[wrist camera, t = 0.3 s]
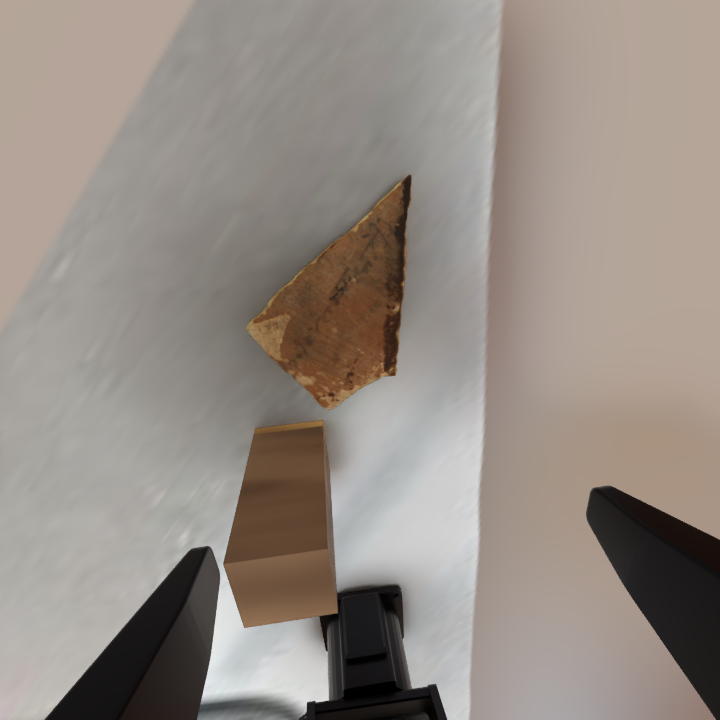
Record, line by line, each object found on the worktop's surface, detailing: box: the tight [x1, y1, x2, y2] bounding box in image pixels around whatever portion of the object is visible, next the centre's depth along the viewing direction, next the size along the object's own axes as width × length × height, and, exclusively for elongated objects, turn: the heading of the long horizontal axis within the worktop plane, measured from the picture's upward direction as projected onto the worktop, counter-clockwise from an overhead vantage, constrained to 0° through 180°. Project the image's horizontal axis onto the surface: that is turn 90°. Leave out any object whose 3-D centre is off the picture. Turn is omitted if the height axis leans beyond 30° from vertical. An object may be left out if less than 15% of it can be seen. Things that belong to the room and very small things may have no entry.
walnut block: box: [223, 420, 338, 628], centre depth 20 cm, size 4×4×9 cm
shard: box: [246, 174, 411, 410], centre depth 20 cm, size 11×8×2 cm
